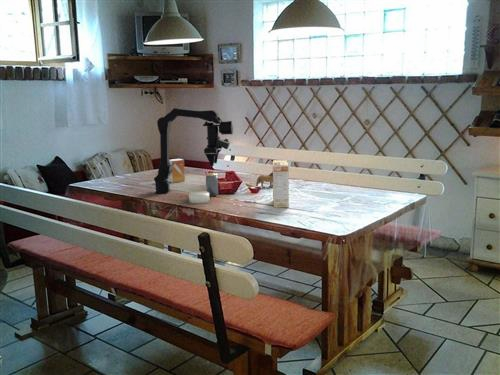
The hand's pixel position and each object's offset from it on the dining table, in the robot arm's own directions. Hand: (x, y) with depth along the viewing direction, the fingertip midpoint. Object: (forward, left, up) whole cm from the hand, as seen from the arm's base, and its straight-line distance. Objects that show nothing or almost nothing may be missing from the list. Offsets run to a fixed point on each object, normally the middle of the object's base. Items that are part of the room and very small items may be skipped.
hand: (214, 164), depth 255 cm
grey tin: (0, -6, -15) cm, 16 cm away
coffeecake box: (+36, -24, -15) cm, 45 cm away
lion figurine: (+27, +15, -15) cm, 34 cm away
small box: (-28, +30, -15) cm, 44 cm away
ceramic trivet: (-4, -19, -15) cm, 25 cm away
